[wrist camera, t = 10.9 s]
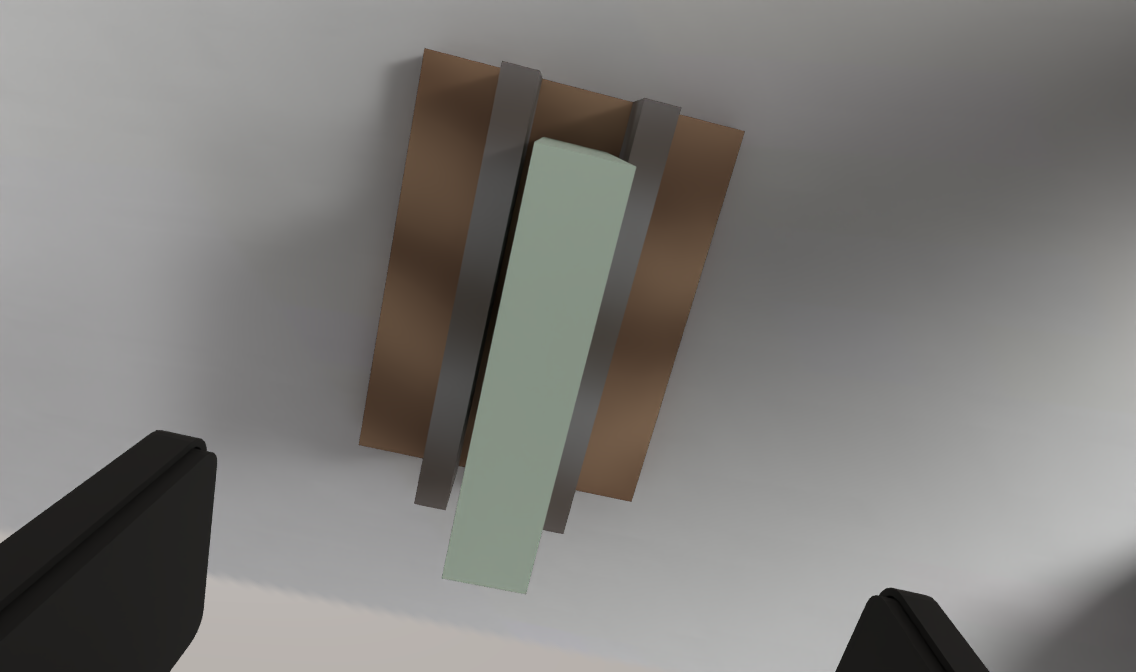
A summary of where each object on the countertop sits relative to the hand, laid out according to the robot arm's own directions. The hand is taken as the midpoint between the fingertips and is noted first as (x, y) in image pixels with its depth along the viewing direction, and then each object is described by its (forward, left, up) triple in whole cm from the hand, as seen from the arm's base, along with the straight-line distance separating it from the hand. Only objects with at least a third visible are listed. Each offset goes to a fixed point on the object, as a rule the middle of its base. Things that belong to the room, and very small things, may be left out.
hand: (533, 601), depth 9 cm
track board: (0, 0, -20) cm, 20 cm away
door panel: (0, 0, -18) cm, 18 cm away
